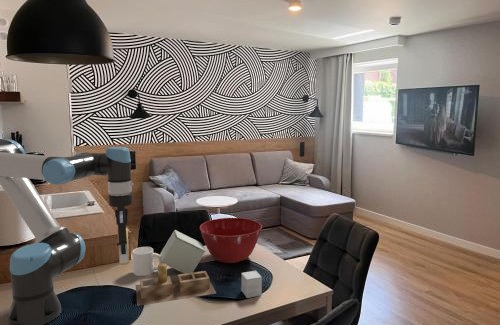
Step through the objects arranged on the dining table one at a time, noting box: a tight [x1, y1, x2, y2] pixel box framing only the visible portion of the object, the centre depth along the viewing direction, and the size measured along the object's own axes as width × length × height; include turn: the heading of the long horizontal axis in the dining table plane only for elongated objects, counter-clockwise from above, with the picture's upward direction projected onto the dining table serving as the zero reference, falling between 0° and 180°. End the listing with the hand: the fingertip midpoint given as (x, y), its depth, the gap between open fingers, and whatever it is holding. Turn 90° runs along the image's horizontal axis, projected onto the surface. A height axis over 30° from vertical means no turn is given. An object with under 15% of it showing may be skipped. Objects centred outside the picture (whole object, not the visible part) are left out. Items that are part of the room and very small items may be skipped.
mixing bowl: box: [199, 217, 263, 264], centre depth 172 cm, size 28×28×15 cm
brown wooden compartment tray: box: [135, 263, 217, 307], centre depth 139 cm, size 28×16×11 cm, turn 109°
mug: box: [132, 246, 163, 277], centre depth 154 cm, size 12×8×10 cm
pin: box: [117, 227, 130, 266], centre depth 127 cm, size 3×3×12 cm
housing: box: [159, 229, 206, 274], centre depth 156 cm, size 14×10×12 cm
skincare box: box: [241, 270, 263, 299], centre depth 139 cm, size 6×6×7 cm
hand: (124, 260), depth 127 cm, fingers closed on pin, 3 cm apart
